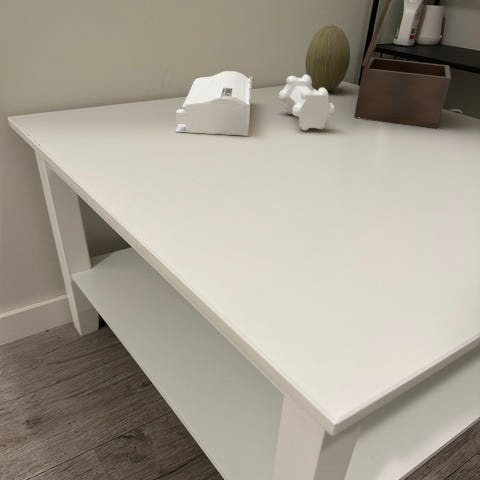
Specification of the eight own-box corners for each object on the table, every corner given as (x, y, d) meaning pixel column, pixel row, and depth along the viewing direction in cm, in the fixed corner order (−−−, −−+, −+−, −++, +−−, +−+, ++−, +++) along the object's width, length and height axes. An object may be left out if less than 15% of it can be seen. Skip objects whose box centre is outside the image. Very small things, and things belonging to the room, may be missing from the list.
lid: (410, -42, 101) (370, -56, 101) (407, -42, 89) (362, -57, 90) (371, 55, 113) (337, 43, 114) (365, 67, 102) (326, 53, 102)
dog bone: (332, 132, 99) (339, 90, 94) (292, 132, 97) (297, 89, 92) (312, 111, 110) (317, 73, 105) (275, 112, 109) (279, 72, 104)
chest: (436, 111, 116) (449, 65, 110) (436, 128, 104) (451, 78, 98) (361, 102, 120) (369, 57, 113) (353, 117, 108) (363, 68, 102)
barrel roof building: (189, 100, 114) (188, 67, 109) (250, 103, 114) (252, 71, 110) (175, 132, 94) (173, 94, 90) (249, 136, 94) (251, 98, 90)
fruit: (352, 90, 128) (363, 26, 119) (331, 98, 121) (341, 29, 112) (315, 83, 134) (324, 20, 124) (293, 89, 127) (300, 23, 117)
